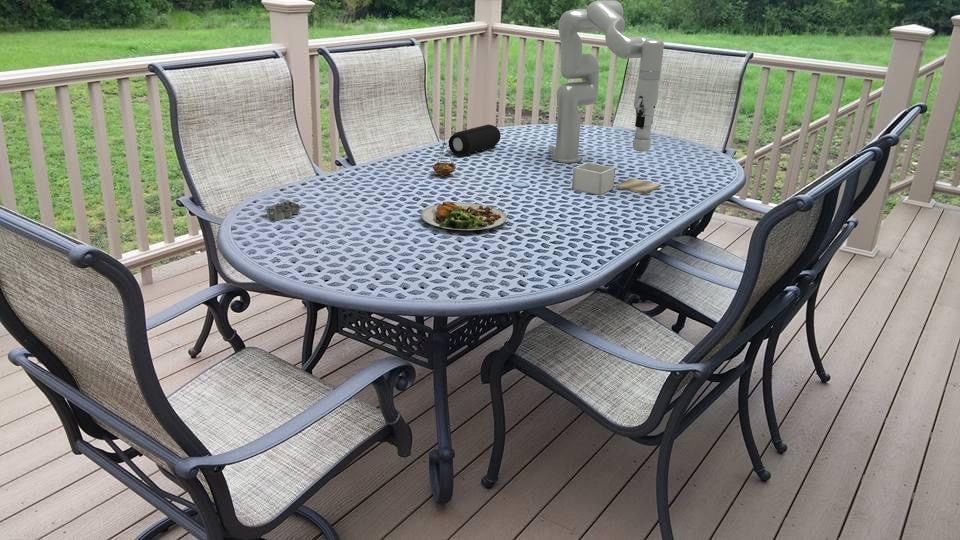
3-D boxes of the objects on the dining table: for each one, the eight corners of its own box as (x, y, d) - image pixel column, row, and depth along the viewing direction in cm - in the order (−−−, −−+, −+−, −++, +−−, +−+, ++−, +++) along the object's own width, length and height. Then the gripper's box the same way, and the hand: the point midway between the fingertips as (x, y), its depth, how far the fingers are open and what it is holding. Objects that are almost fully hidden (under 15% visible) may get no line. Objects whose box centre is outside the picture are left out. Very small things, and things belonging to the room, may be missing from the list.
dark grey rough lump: (278, 222, 251) (277, 210, 249) (262, 217, 255) (261, 205, 253) (304, 214, 259) (303, 202, 257) (288, 209, 263) (288, 197, 261)
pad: (615, 187, 296) (616, 185, 296) (630, 180, 305) (630, 178, 305) (645, 194, 290) (645, 191, 290) (659, 187, 299) (659, 184, 299)
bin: (571, 188, 294) (573, 167, 290) (585, 182, 302) (587, 162, 298) (599, 195, 287) (601, 173, 284) (613, 188, 295) (615, 167, 292)
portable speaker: (484, 144, 353) (484, 121, 349) (501, 148, 347) (502, 125, 343) (446, 154, 334) (447, 131, 330) (464, 158, 329) (465, 135, 325)
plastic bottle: (648, 149, 295) (655, 95, 288) (650, 154, 289) (657, 98, 281) (631, 148, 296) (637, 94, 288) (632, 153, 290) (638, 97, 282)
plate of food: (464, 242, 239) (465, 223, 237) (402, 219, 256) (403, 201, 254) (524, 224, 259) (525, 206, 256) (462, 204, 276) (463, 187, 273)
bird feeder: (428, 176, 303) (429, 97, 291) (438, 170, 310) (439, 93, 299) (449, 179, 300) (451, 99, 288) (459, 173, 307) (460, 95, 296)
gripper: (650, 71, 290) (644, 120, 297) (628, 76, 277) (623, 127, 284) (669, 74, 286) (663, 123, 293) (648, 79, 273) (642, 131, 280)
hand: (643, 125), depth 289 cm, fingers closed on plastic bottle, 6 cm apart
